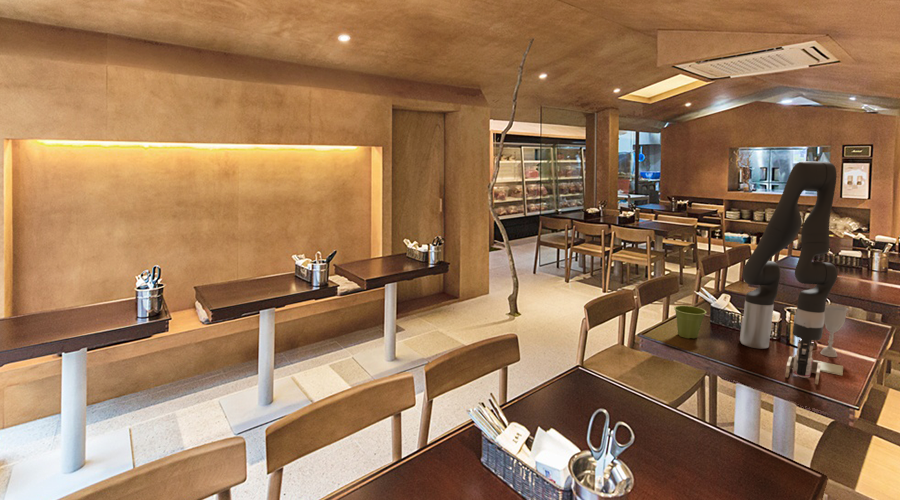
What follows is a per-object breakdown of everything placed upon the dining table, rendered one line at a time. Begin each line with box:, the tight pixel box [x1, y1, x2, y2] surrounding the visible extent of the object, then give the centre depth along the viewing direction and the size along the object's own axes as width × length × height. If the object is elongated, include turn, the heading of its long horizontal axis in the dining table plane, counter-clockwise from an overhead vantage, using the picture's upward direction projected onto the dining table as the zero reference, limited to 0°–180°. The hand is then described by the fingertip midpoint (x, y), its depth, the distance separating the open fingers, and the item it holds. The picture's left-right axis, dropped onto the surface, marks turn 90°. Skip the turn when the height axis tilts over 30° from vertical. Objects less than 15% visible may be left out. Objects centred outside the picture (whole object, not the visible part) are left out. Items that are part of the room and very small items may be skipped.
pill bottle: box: [792, 348, 814, 378], centre depth 153 cm, size 5×5×8 cm
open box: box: [784, 355, 822, 385], centre depth 155 cm, size 10×9×4 cm
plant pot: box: [673, 305, 707, 339], centre depth 191 cm, size 12×12×11 cm
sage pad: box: [813, 359, 844, 377], centre depth 160 cm, size 8×8×1 cm
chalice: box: [819, 304, 850, 358], centre depth 170 cm, size 7×7×18 cm
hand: (801, 371), depth 153 cm, fingers closed on pill bottle, 4 cm apart
